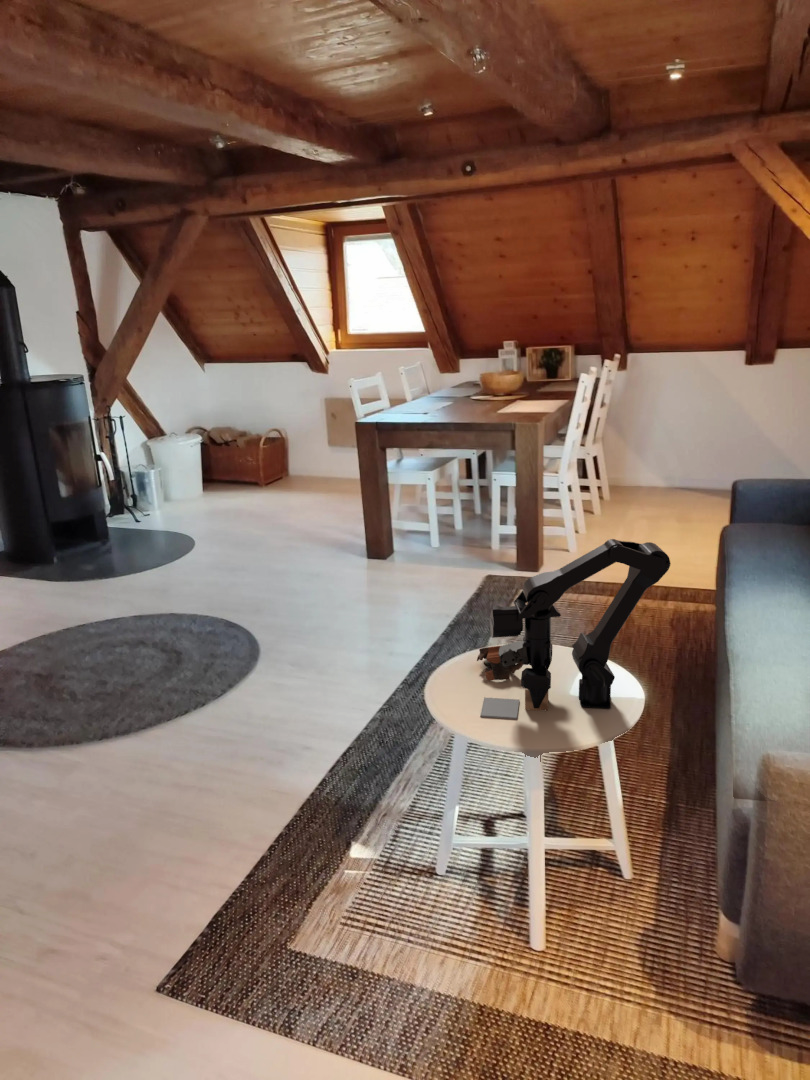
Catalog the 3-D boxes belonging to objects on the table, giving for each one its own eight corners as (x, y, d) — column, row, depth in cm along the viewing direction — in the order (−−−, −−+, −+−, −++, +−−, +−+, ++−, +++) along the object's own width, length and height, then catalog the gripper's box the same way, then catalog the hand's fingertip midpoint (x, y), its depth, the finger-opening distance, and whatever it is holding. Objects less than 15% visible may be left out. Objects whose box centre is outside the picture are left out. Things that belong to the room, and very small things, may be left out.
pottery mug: (474, 682, 187) (470, 648, 189) (487, 682, 196) (483, 650, 197) (522, 677, 182) (517, 642, 184) (533, 677, 191) (528, 644, 193)
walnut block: (548, 700, 177) (548, 680, 175) (547, 711, 172) (547, 691, 171) (526, 698, 178) (526, 679, 176) (525, 709, 173) (525, 689, 172)
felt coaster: (519, 701, 177) (519, 699, 177) (516, 719, 169) (516, 717, 169) (484, 698, 178) (484, 697, 178) (480, 716, 171) (480, 715, 171)
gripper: (504, 616, 180) (504, 676, 185) (497, 651, 163) (497, 716, 167) (552, 617, 178) (552, 679, 183) (550, 653, 161) (550, 720, 165)
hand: (537, 697), depth 175 cm, fingers open, 9 cm apart
